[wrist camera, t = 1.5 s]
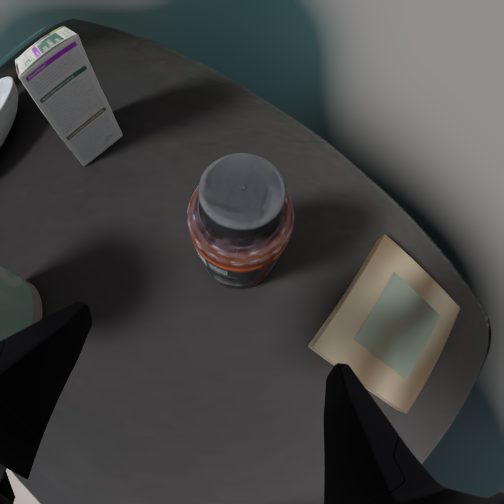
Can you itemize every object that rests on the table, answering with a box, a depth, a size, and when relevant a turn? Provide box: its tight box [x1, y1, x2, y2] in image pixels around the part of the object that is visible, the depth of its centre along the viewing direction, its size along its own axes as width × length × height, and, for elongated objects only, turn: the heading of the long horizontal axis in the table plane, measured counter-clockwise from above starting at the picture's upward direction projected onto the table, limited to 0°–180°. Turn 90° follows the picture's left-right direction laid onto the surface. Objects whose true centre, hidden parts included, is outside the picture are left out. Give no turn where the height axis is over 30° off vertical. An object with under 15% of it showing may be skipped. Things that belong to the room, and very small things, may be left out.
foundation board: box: [308, 234, 460, 414], centre depth 21 cm, size 12×12×2 cm
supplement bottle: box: [187, 153, 294, 289], centre depth 17 cm, size 6×6×11 cm
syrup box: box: [15, 26, 123, 166], centre depth 18 cm, size 6×6×14 cm
